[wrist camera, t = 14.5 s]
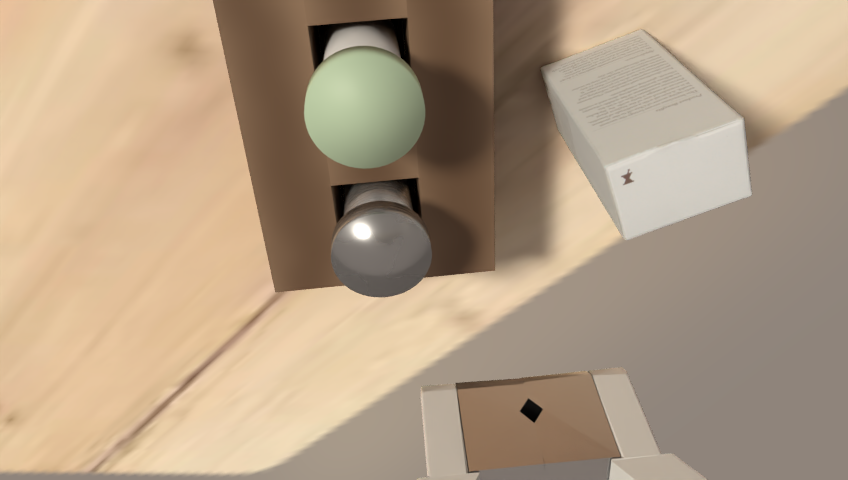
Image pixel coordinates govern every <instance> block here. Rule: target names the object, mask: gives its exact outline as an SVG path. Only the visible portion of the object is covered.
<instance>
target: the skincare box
mask: <svg viewBox="0 0 848 480" xmlns="http://www.w3.org/2000/svg"><path fill="white" fill-rule="evenodd" d="M541 73H542V76H543V80H544V83H545V87H546V91H547V94H548V98H549V101H550V104H551V107H552V111H553V114H554V117H555V121H556V124H557V128H558V131H559V132H560V134H561V136H562V137H563V139H564V141H565V142H566V144H567V146H568V148H569V149H570V151H571V153H572V154H573V156H574V157H575V159H576V161H577V162H578V164H579V166H580V167H581V169H582V171H583V172H584V174H585V176H586V177H587V179H588V181H589V182H590V184H591V185H592V187H593V189H594V190H595V192H596V194H597V195H598V197H599V199H600V201H601V202H602V204H603V205H604V207H605V209H606V210H607V212H608V214H609V215H610V217H611V218H612V220H613V222H614V223H615V225H616V227H617V229H618V230H619V232H620V234H621V235H622V237H623V238H624V239H625V240H630V239H632V238H635V237H638V236H640V235H643V234H646V233H649V232H651V231H654V230H657V229H660V228H663V227H666V226H668V225H671V224H674V223H677V222H680V221H682V220H685V219H688V218H691V217H693V216H696V215H699V214H702V213H704V212H707V211H710V210H713V209H715V208H719V207H721V206H724V205H727V204H730V203H732V202H735V201H738V200H741V199H744V198H747V197H750V196H752V189H751V180H750V170H749V160H748V150H747V140H746V131H745V122H744V118H743V117H742V116H741V115H740V114H739V113H737V112H736V111H735V110H734V109H733V108H731V107H730V106H729V105H728V104H727V103H726V102H724V101H723V100H722V99H721V98H720V97H719V96H718V95H716V94H715V93H714V92H713V91H712V90H711V89H710V88H708V87H707V86H706V85H705V84H704V83H703V82H702V81H701V80H700V79H698V78H697V77H696V76H695V75H694V74H693V73H692V72H690V71H689V70H688V69H687V68H686V67H685V66H684V65H683V64H681V63H680V62H679V61H678V60H677V59H676V58H675V57H674V56H673V55H671V54H670V53H669V52H668V51H667V50H666V49H665V48H664V47H663V46H661V45H660V44H659V43H658V42H657V41H656V40H655V39H654V38H652V37H651V36H650V35H649V34H648V33H647V32H646V31H644V30H642V29H640V30H637V31H635V32H632V33H630V34H627V35H625V36H622V37H619V38H617V39H614V40H612V41H609V42H606V43H604V44H601V45H598V46H596V47H593V48H591V49H588V50H585V51H583V52H580V53H578V54H575V55H573V56H570V57H567V58H565V59H562V60H559V61H557V62H554V63H551V64H549V65H546V66H543V67H542V68H541Z"/></svg>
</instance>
